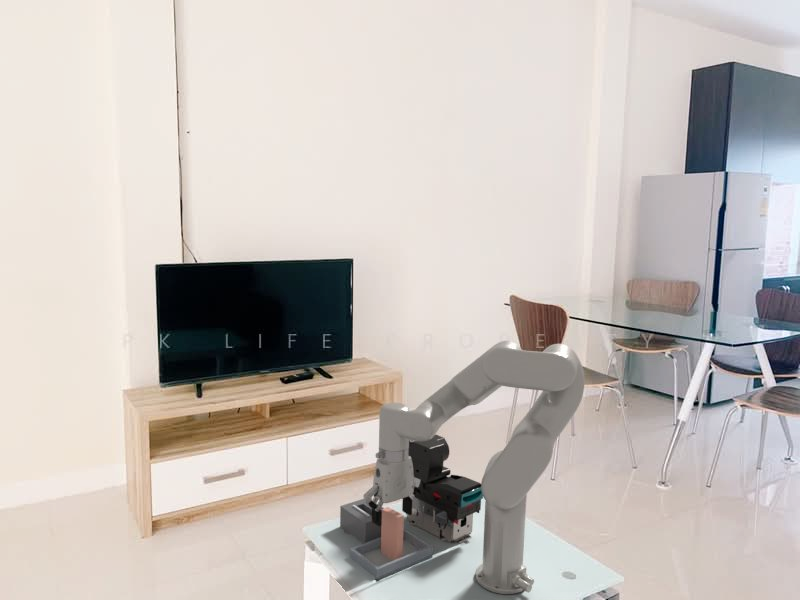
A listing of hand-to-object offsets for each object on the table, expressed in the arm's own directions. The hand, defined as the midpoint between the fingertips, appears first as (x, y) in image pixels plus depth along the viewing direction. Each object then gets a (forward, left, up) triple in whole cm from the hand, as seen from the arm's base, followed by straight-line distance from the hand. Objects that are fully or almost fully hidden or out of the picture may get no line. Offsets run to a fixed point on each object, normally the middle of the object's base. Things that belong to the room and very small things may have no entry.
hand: (392, 518), depth 152 cm
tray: (0, 0, -11) cm, 11 cm away
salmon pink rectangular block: (0, 0, -10) cm, 10 cm away
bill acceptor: (+4, -20, -11) cm, 23 cm away
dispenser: (+14, -2, -11) cm, 18 cm away
